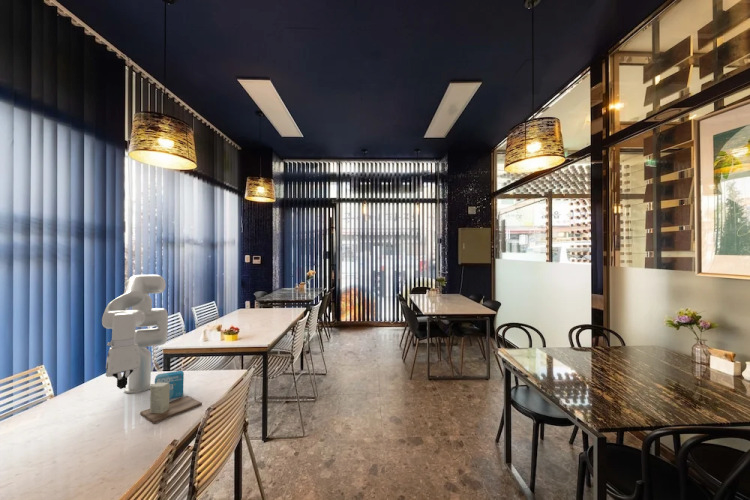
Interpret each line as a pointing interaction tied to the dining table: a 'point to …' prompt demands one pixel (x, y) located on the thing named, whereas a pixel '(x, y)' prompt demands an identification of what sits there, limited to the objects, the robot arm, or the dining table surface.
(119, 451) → the dining table surface
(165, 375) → the data package
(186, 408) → the serving board
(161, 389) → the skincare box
